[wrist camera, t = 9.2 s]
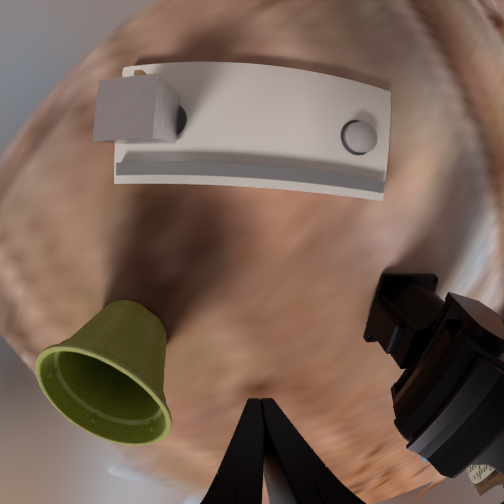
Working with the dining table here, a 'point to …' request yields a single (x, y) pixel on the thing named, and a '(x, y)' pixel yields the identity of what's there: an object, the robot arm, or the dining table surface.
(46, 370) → the plant pot
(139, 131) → the slider
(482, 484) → the wooden container
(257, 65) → the plate
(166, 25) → the dining table surface
